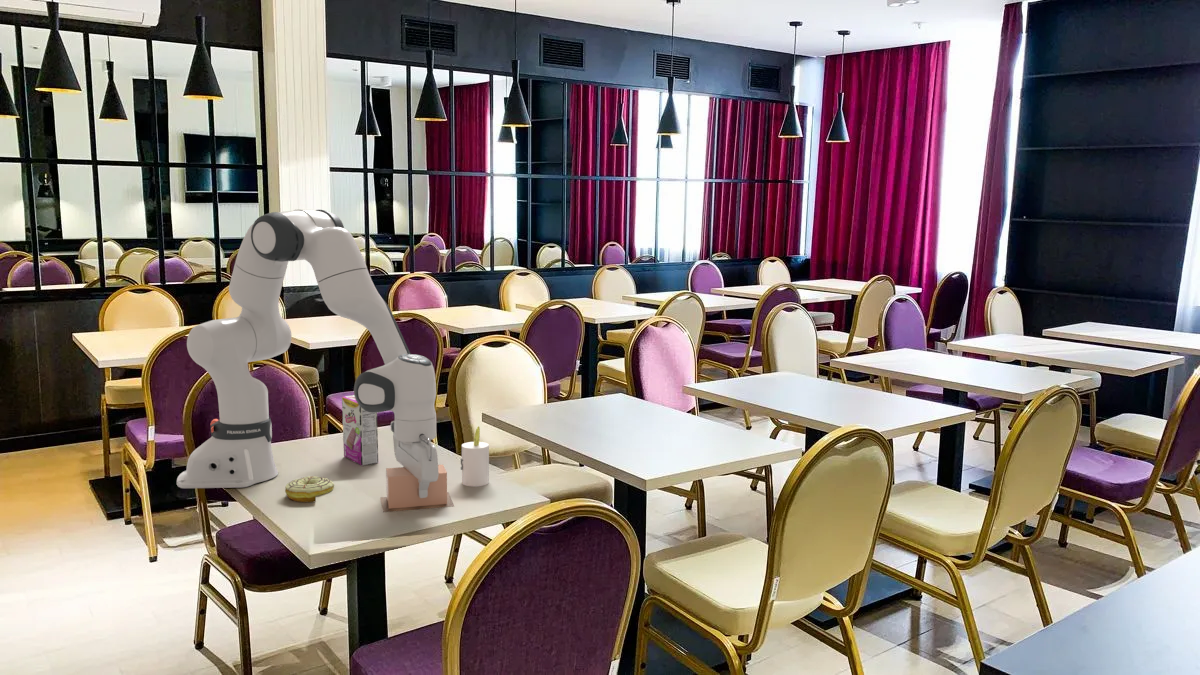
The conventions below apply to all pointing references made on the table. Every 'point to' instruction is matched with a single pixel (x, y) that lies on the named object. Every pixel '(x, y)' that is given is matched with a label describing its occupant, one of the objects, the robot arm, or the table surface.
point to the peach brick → (414, 489)
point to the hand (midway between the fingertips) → (416, 491)
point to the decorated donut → (308, 488)
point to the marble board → (386, 509)
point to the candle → (475, 462)
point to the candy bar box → (359, 432)
